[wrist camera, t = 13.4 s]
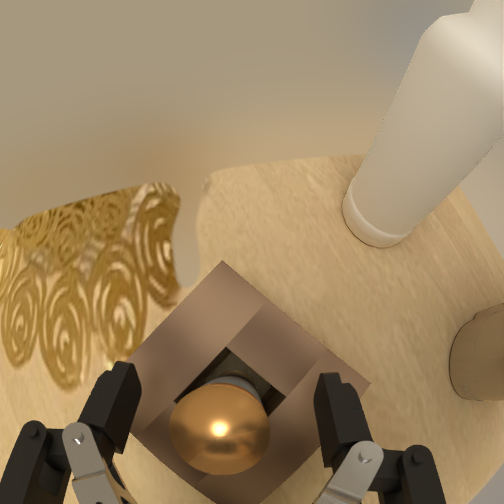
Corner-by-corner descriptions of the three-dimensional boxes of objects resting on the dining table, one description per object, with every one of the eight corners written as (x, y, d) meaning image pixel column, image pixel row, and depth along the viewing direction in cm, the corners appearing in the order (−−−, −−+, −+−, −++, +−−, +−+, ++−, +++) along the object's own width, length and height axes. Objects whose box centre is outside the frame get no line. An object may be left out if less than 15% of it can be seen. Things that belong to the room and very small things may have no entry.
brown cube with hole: (229, 291, 25) (222, 259, 18) (333, 378, 22) (370, 383, 15) (138, 386, 22) (95, 393, 14) (241, 475, 19) (240, 518, 11)
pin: (233, 362, 23) (214, 365, 9) (263, 387, 22) (291, 428, 8) (206, 390, 22) (150, 430, 8) (236, 416, 21) (224, 490, 7)
